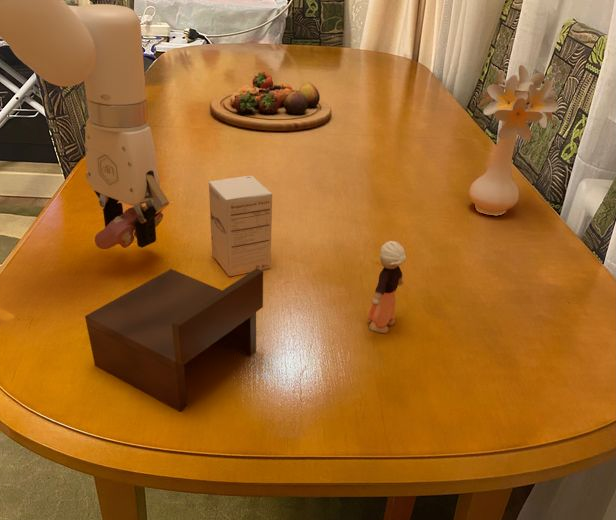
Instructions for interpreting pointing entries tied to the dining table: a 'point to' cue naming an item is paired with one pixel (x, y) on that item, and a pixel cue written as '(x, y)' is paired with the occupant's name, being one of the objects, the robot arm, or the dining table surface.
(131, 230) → the pink toy car
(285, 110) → the wooden plate
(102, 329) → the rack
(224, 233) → the white packaging box
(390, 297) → the grandmother figurine
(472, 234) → the dining table surface
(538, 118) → the flower vase
